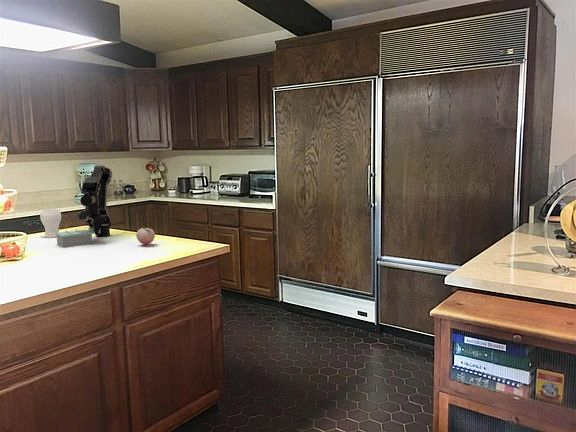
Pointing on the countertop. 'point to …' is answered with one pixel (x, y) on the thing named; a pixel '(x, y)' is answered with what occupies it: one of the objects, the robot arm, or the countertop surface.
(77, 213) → the robot arm
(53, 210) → the cup
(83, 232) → the lid
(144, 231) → the decorative fruit
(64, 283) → the countertop surface
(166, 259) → the countertop surface
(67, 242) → the tub
